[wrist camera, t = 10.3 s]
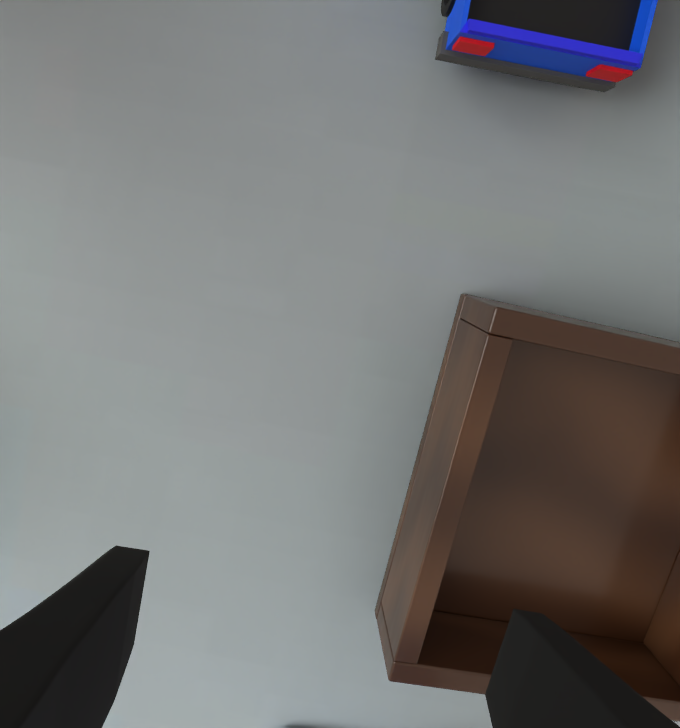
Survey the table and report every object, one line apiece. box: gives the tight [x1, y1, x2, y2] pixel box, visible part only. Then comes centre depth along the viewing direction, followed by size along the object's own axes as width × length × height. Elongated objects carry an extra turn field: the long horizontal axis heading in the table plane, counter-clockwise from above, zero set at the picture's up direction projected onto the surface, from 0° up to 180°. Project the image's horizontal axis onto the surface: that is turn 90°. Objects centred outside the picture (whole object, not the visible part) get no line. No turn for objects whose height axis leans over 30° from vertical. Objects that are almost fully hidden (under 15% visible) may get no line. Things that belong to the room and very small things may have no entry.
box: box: [375, 293, 680, 721], centre depth 19 cm, size 13×12×4 cm
